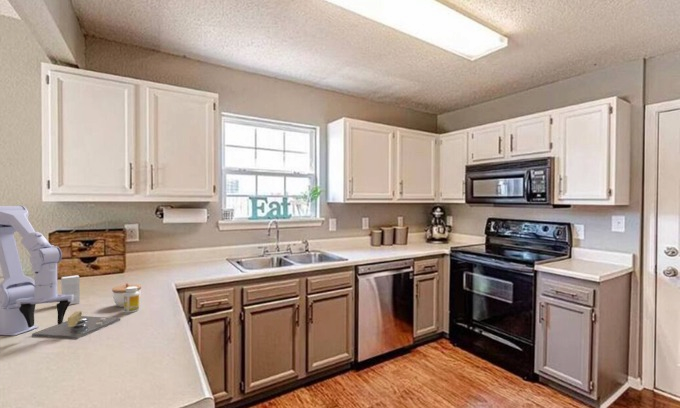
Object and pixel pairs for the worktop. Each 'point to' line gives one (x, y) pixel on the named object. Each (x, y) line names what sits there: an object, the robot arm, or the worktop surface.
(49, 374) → the worktop surface
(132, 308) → the supplement bottle
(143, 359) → the worktop surface
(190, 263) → the worktop surface
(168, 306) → the worktop surface
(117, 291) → the lidded jar
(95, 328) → the base plate
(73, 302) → the skincare box
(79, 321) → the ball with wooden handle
